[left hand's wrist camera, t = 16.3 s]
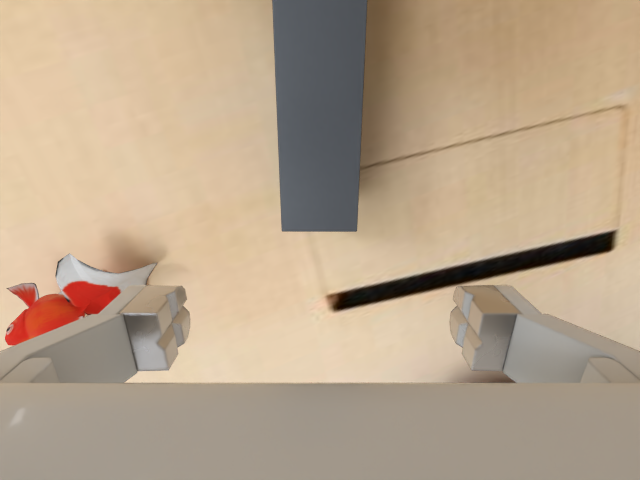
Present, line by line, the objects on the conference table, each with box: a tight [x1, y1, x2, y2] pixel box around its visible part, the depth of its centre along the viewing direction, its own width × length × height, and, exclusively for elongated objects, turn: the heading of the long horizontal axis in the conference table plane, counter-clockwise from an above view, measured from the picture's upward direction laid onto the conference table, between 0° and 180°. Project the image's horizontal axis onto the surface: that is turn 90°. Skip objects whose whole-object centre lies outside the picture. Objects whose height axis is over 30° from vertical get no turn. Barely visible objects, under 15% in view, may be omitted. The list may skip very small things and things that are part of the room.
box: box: [272, 0, 367, 232], centre depth 26 cm, size 27×6×10 cm, turn 0°
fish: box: [5, 253, 157, 345], centre depth 35 cm, size 11×16×10 cm
